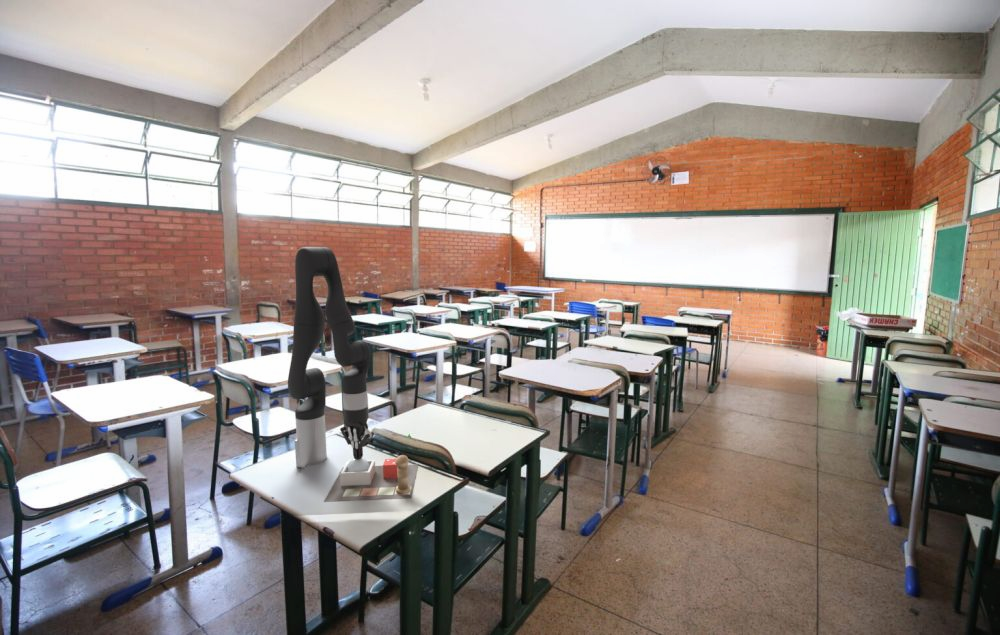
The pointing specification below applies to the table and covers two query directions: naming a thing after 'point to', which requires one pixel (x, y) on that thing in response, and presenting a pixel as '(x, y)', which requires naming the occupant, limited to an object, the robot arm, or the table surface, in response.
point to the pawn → (402, 474)
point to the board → (372, 488)
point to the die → (390, 469)
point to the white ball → (358, 465)
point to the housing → (357, 475)
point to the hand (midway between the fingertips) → (358, 458)
